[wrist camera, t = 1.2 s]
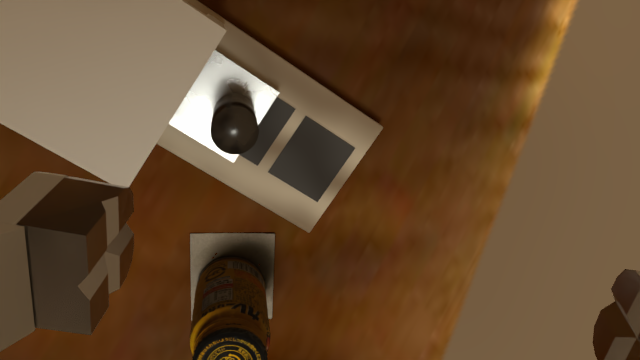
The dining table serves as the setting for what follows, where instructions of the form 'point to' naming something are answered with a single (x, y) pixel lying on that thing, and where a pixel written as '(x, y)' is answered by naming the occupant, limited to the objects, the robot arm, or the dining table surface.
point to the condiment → (231, 295)
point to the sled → (225, 107)
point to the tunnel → (100, 75)
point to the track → (285, 137)
